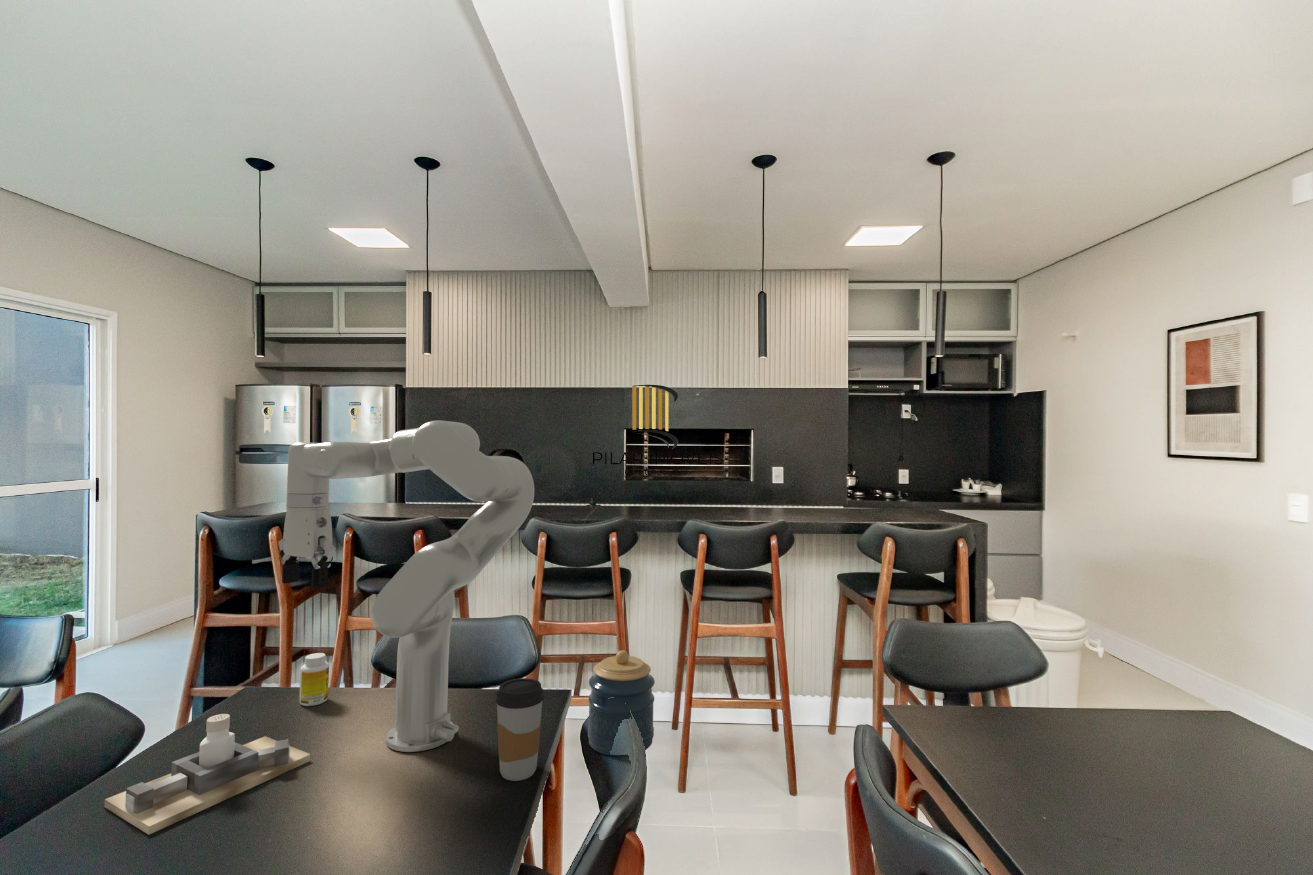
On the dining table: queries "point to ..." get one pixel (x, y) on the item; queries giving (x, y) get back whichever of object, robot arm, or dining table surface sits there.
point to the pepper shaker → (217, 742)
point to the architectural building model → (203, 784)
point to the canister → (620, 700)
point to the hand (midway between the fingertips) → (304, 584)
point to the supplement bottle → (314, 680)
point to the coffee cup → (519, 727)
